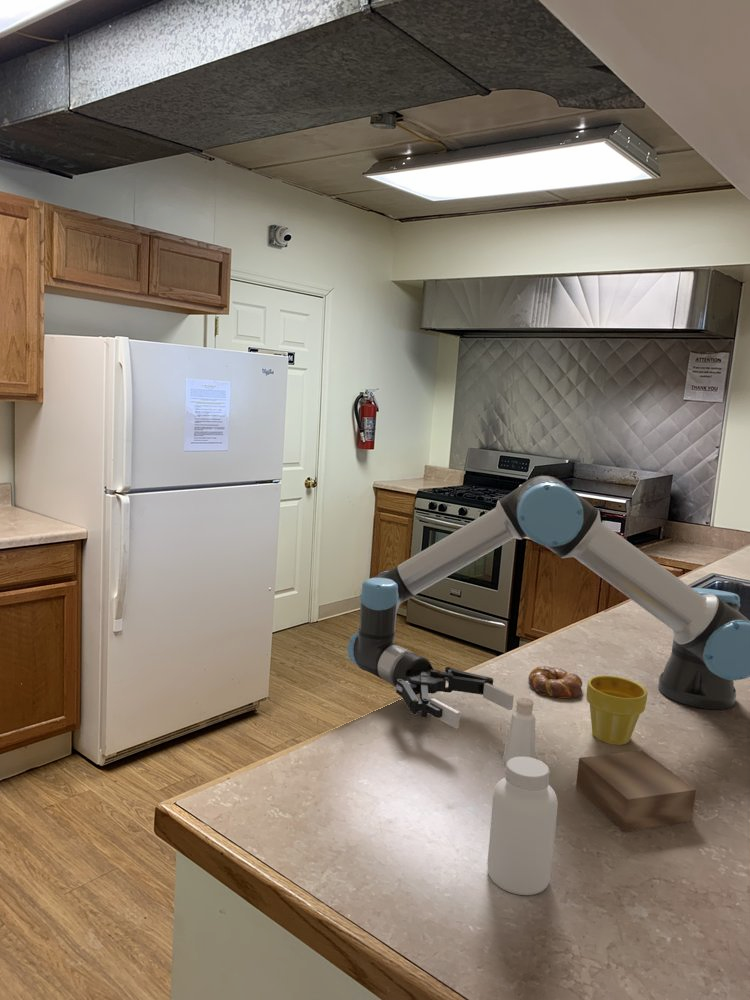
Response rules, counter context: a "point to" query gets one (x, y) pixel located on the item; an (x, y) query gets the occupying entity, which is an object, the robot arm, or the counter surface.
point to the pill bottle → (522, 828)
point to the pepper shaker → (521, 732)
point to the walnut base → (635, 790)
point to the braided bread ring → (555, 682)
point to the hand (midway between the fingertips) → (485, 711)
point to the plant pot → (615, 707)
